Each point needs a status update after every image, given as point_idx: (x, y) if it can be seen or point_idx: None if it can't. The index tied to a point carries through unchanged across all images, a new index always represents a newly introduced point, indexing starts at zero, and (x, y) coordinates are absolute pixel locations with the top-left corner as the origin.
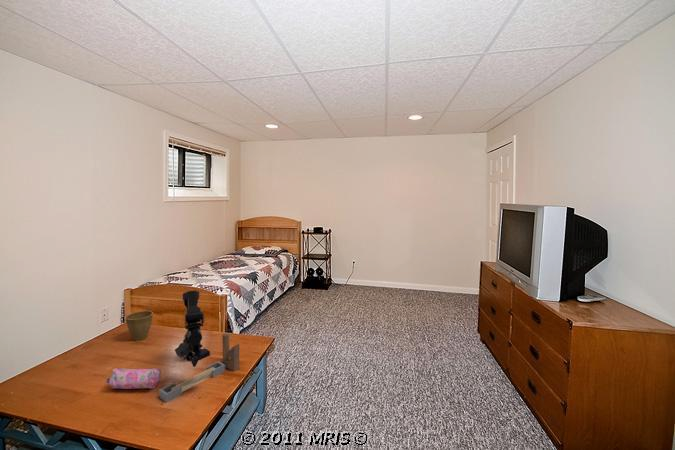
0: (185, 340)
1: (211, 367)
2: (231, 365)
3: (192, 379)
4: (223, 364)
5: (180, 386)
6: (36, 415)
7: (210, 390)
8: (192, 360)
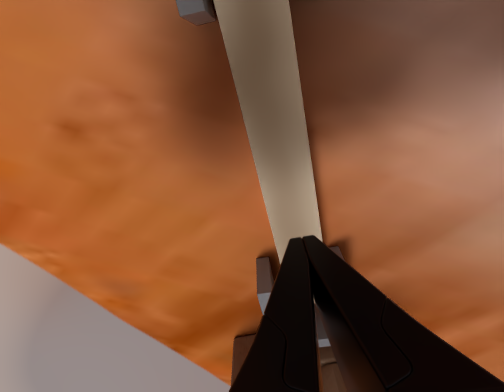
0: None
1: None
2: None
3: (278, 155)
4: None
5: (197, 7)
6: None
7: (123, 206)
8: (302, 328)
